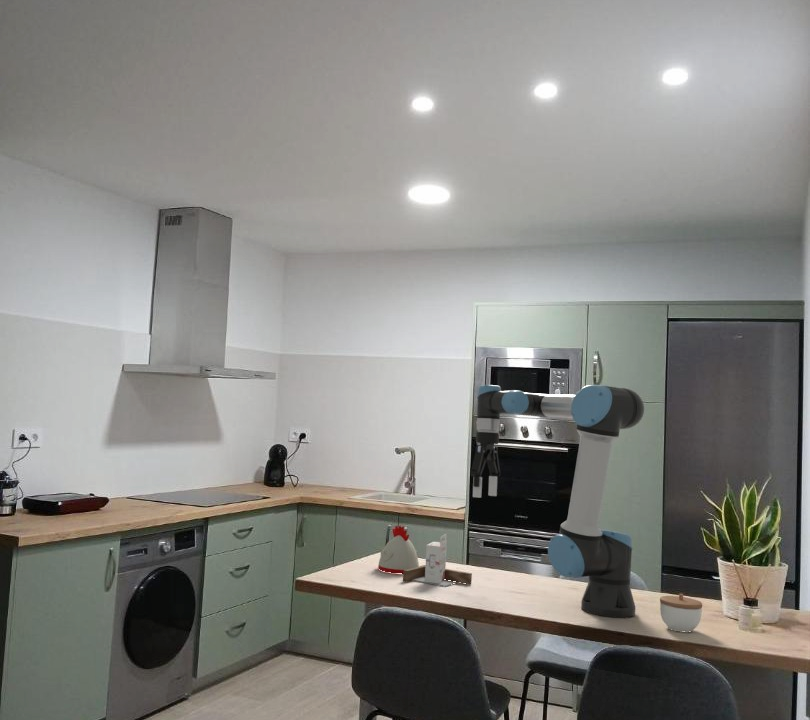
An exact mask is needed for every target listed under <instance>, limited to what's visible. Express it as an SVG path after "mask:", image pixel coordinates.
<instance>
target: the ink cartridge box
mask: <svg viewBox="0 0 810 720" xmlns="http://www.w3.org/2000/svg"><path fill="white" fill-rule="evenodd" d="M439 538H440V539H439V541H432V542H430V543H428V544H426V545H425V546H426V549H425V550H426V551H425V552H426V553H425V565H426V566H425V582H430V583H440V582H441V581H443V580H444V579H445V569H446V566H447V565H446V563H447V550H448V549H447V546H448V544H447V543H448V541H447V539H448V537H447V533H445V534H443V535H441V536H440V537H439ZM443 539H444V540H443Z"/></svg>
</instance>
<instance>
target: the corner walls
mask: <svg viewBox="0 0 810 720" xmlns="http://www.w3.org/2000/svg"><path fill="white" fill-rule="evenodd" d="M425 566H426V564H423V565H419V567H415V568H411V569H407V570H403V575H402V582H403V583H410V582H413V581H412V579H416V578H420V577H423V576H425ZM472 575H473V572H468V571H462V570H461V571H460V570H456V569H455V570H454V569H449V568H445V579H446V580H451V581H456V582H461V583H466V584H465V585H467V584H471V585H472V580H473V578H472V577H473V576H472ZM409 581H410V582H409ZM461 583H460V584H461Z"/></svg>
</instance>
